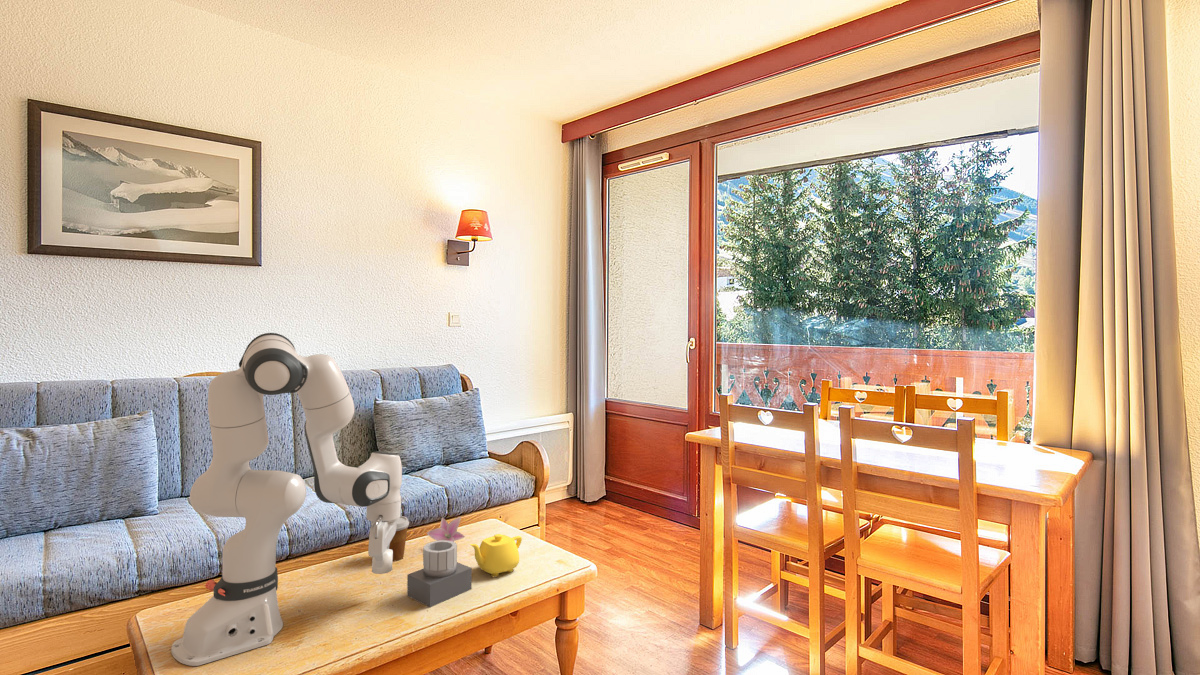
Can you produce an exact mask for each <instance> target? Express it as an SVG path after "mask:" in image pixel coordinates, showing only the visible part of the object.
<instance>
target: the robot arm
mask: <svg viewBox="0 0 1200 675" xmlns="http://www.w3.org/2000/svg"><path fill="white" fill-rule="evenodd" d="M238 366H239V368H238V369H236V370H231V371H226V372H222V373H220V374H217V376H215V377H214V378H213V379H212V380H211V381H210V383H209V384H208V385H209V386H208V394H207V395H208V396H207V409H208V410H207V411H208V420H209V427H210V428H209V429H210V433H211V441H212V452H213V453H212V458H211V463H210V465H209V467H208V468H207V470H206V471H204V472H203V473H202V474H201V475H199V476H198V477H197V478H196V479H195V481H194V482H193V484H192V486H191V489H190V491H189V502H190V504H191V506H192V509H193V510H194V511H195V512H196V513H197V514H198V513H199V514H202V515H203V514H204V515H207V516H212V517H216V518H244V519H245V525H244V526H245V527H244V529H242V530H240V531H238V532H236V533H235V534H233V535H231V536H230V537H229V538H228V539H227V540H226V541H225V543H224V544H223V548H222V552H221V553H222V575H221V577H220V579H219V580H218V581H214V579H209V580H208V581H207V580H206V583H205V585H204V586H205V588H206V589H207V590H208V591H210V592H211V591H213V596H212V597H210V598H209V599H208V600H207V601H206V602H205V603H204V604H203V605H202V606H201V607H199V608H198V609H197V610H196V611H195V612H194V613H193V614H192V615H191V616H190V617H188V619H187V620H186V622H185V626H184V628H183V629H184V630H183V634H182V637H181V638H178V639H177V640H175V641H173V642H172V644H171V649H170V650H171V651H170V652H171V656H172V657H173V658H174V660H176V661H177V662H179V663H181V664H183V665H186V666H193V667H198V666H202V665H204V664H205V665H206V664H208V663H212V662H214V661H215V662H216V661H218V660H222V659H224V658H225V659H226V658H228V657H231V656H234V655H237V654H241V653H244V652H247V651H251V650H254V649H257V648H260V647H263V646H267V645H270V644H271V643H272V642H273V639H274V637H275V636H276V635H277V634H278V633H279V632H280V631H281V630H282V629H283V626H284V621H283V619H282V617H281V612H280V607H279V602H278V594H277V590H278V589H279V588H278V587H279V586H278V585H279V575H278V568H277V566H276V563H277V562H276V558H277V556H276V555H277V543H278V537H279V535H280V532H281V529H282V527H283V526H284V524H285V523H286V522H287V520H289V518H290V517H292V516H293V515H295V514H296V513H297V512H298V511H299V510H301V508H302V507H303V504H304V503H305V500H306V498H307V486H306V483H305V481H304V479H303V477H302V476H301V475H300V474H297V473H293V472H289V471H284V470H277V469H276V470H274V469H273V470H271V469H270V470H269V469H268V470H266V469H263V470H261V469H252V468H251V466H250V462H251V461H252V460H255V459H256V458H259V456H261V455H262V454H263V453H264V452H265V451H266V449H267V447H268V444H269V434H268V426H267V420H266V413H265V411H266V410H265V405H264V395H267V396H275V395H283V394H292V393H293V394H294V393H296V394H297V396H298V399H299V401H300V403H301V406H302V408H303V413H304V416H305V421H304V427H303V428H304V429H303V430H304V436H305V441H306V445H307V449H308V452H309V457H310V460H311V464H312V468H313V478H314V479H313V481H314V482H313V486H314V492H315V495H316V497H317V498H318V499H319V500H320V501H321V502H324V503H327V504H339V505H345V506H349V507H350V506H352V507H357V508H364V507H365V508H366V511H365V512H366V514H365V517H366V520H367V521H369V522H370V525H371V526H370V529H369V536H368V537H369V538H368V546H367V547H368V550H367V552H368V557H371V558H372V557H375V560H376V567H377V568H381V567H382V566H383V564H384V559H383V554H384V552H385V551H386V549H389V545H390V542H391V540H392V538H393V537H394V535H395V532H396V528H397V520H398V518H400V516H402V515H401V513H402V512H401V511H402V496H401V486H402V485H403V484H402V483H403V468H402V467H403V466H402V465H403V464H402V461H401V457H400V455H399V454H398V453H395V452H389V451H383V450H382V451H379V450H378V451H373V452H371V454H370V457H369V458H368V459H367V460H366V461H365V462H364V463H362V464H360V465H358V467H355V466H349V465H346V464H343V463H342V462H341V461H340V460H339V459H338V454H337V451H336V447H335V443H334V441H335V440H334V438H333V435H334V434H336V433H337V432H339V431H341V430H342V429H344V428H346V426H347V425H349V423H350V422H351V421H352V419H353V417H354V414H355V402H354V399H353V396H352V394H351V390H350V388H349V386H348V383H347V380H346V378H345V377H344V375H343V372H342V370H341V369H340V367H339V365H338V364H337V363H336V360H335V359H334V358H333V357H332V356H330V355H327V354H321V353H320V354H319V353H318V354H317V353H316V354H312V355H308V356H302V355H301V354H298V353H297V352H296V348H295V346H294V344H293V342H292V341H291V340H290V339H289V338H288V337H286V336H284V335H282V334H280V333H276V332H266V333H262V334H259V335H258V336H256V337H255V338H253V339H252V340H251V341H250V342H249V343H248V345H247V346H246V348H245V350H244V352H243V354H242V356H241V357H240V360H239V362H238Z"/></svg>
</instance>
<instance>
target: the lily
mask: <svg viewBox="0 0 1200 675" xmlns="http://www.w3.org/2000/svg"><path fill="white" fill-rule="evenodd" d="M461 519H462V516H458V517H456V518H455V519H453V520H451V521H450V522H448V521H447V520H446V518H444V517H442V518H441V521H440V527H438V528H434V529H431V530H428V531H427V532H426V534H427V536H428V537H430V538H431V539H433V540H434V541H440V540H447V541H452V542H455V541H456V542H457V541H459V540H462V539H464V538H465V537H466V536H465V535H464V534H463V533H461V532H459V531H458V528H459V525H460V523H461Z"/></svg>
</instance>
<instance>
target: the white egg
mask: <svg viewBox="0 0 1200 675" xmlns="http://www.w3.org/2000/svg"><path fill="white" fill-rule="evenodd" d="M383 559H384V564H383V566H382V567H381V568H377V567H376V560H375V557H371V573H373V574H376V575H377V574H378V575H383V574H388V573H390V572H392V571H393V561H392V560H393V550H391V549H386V551H385V552H384V554H383Z"/></svg>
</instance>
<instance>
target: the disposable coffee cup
mask: <svg viewBox="0 0 1200 675" xmlns="http://www.w3.org/2000/svg"><path fill="white" fill-rule="evenodd" d="M409 524H410V522H409V519H408V517H406V516H403V515H401V516H400V518H398V520H397V528H396V532H395V535H394V537H393V538H392V540H391V542H390V545H389V549H391V550H393V560H392V562H397V561H401V560H402V559H404V557H405V549H406V543H407V542H406V540H407V534H408V527H409V526H410V525H409Z"/></svg>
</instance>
